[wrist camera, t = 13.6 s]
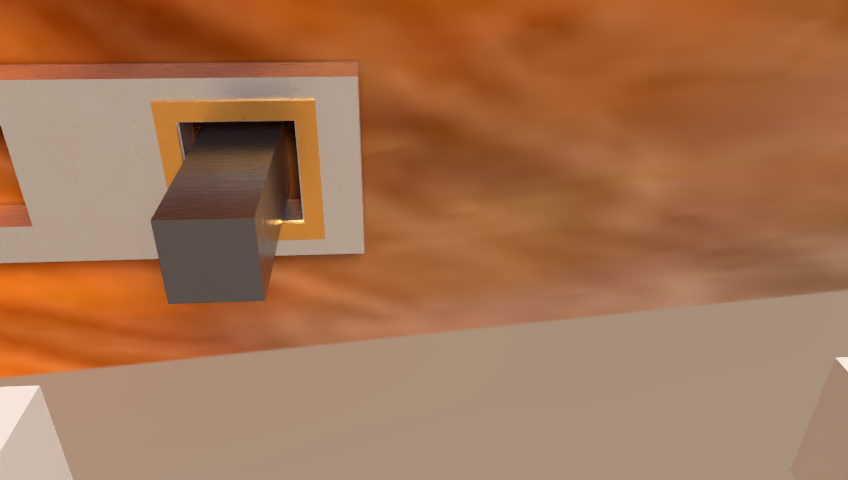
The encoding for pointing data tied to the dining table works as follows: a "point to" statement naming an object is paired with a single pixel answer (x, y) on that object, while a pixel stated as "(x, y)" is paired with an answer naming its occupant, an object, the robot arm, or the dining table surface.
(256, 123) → the steel peg
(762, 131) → the dining table surface
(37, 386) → the robot arm
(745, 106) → the dining table surface
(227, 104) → the grey peg hole board
